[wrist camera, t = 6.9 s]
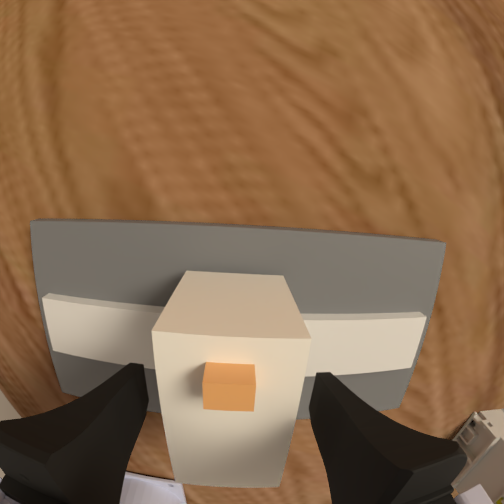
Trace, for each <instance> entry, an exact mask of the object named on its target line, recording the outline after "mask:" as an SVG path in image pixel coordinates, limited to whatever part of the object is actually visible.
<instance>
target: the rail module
mask: <svg viewBox="0 0 504 504" xmlns="http://www.w3.org/2000/svg"><path fill="white" fill-rule="evenodd" d="M311 339H312V338H311V336H310V334H309V332H308V329H307V327H306V325H305V323H304V321H303V318H302V316H301V314H300V312H299V309H298V307H297V305H296V303H295V301H294V298H293V296H292V294H291V292H290V290H289V287H288V285H287V283H286V281H285V279H284V276H283V275H260V274H240V273H221V272H203V271H186V272H185V274H184V276H183V277H182V279H181V281H180V282H179V284H178V286H177V287H176V289H175V291H174V292H173V294H172V296H171V298H170V299H169V301H168V303H167V304H166V306H165V308H164V310H163V311H162V313H161V315H160V317H159V318H158V320H157V322H156V324H155V325H154V327H153V329H152V342H153V352H154V361H155V370H156V378H157V385H158V392H159V399H160V406H161V412H162V418H163V424H164V430H165V435H166V440H167V445H168V450H169V455H170V460H171V465H172V469H173V473H174V478H175V482H176V483H184V484H193V485H204V486H217V487H244V488H260V487H279V485H280V482H281V478H282V474H283V471H284V467H285V463H286V459H287V455H288V451H289V447H290V443H291V439H292V434H293V430H294V426H295V421H296V417H297V412H298V407H299V403H300V398H301V393H302V388H303V383H304V378H305V372H306V367H307V362H308V356H309V350H310V345H311Z"/></svg>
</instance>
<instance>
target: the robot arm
mask: <svg viewBox="0 0 504 504" xmlns="http://www.w3.org/2000/svg"><path fill="white" fill-rule="evenodd" d="M148 403H149V397H148V391H147V384H146V378H145V371H144V364H138V363H131V362H130V363H129V364H127V365H126V366H125V367H123V368H122V369H121V370H119V371H118V372H117V373H115V374H114V375H113V376H111V377H110V378H109V379H107V380H106V381H105V382H103V383H102V384H100V385H99V386H97V387H96V388H94V389H93V390H91V391H90V392H88V393H87V394H85V395H83V396H82V397H80V398H78V399H76V400H74V401H72V402H70V403H68V404H66V405H64V406H61V407H59V408H56V409H53V410H51V411H48V412H45V413H42V414H38V415H35V416H30V417H26V418H21V419H13V420H4V421H1V422H0V468H1V469H2V470H3V471H4V473H5V474H6V475H5V476H4V478H3V479H2V478H1V477H0V504H187V502H186V498H185V494H184V489H183V485H182V483H176V482H175V481H174V480H167V479H161V478H155V477H149V476H144V475H139V474H134V473H130V472H126V468H127V464H128V461H129V458H130V455H131V453H132V450H133V448H134V445H135V442H136V440H137V437H138V435H139V432H140V430H141V427H142V425H143V422H144V419H145V416H146V412H147V407H148ZM309 413H310V419H311V425H312V429H313V432H314V435H315V438H316V441H317V444H318V447H319V450H320V453H321V456H322V459H323V462H324V465H325V469H326V472H327V477H328V482H329V487H330V493H331V500H332V504H493V502H492V501H491V499H490V498H489V496H488V495H487V493H486V492H485V490H484V489H483V487H482V486H481V484H477V485H476V486H474V487H472V488H470V489H468V490H466V491H464V492H462V493H460V494H459V495H457V496H456V497H455V498H454V499H453V497H452V495H451V493H452V492H453V491H454V489H453V487H452V485H451V483H452V482H453V481H454V479H455V478H456V477H457V476H458V475H459V473H460V472H461V471H462V469H463V468H464V466H465V465H466V462H467V459H468V457H467V454H466V453H465V452H464V450H463V449H462V447H461V446H460V445H459V443H458V442H457V441H452V440H447V439H442V438H437V437H434V436H430V435H427V434H424V433H421V432H418V431H415V430H413V429H410V428H408V427H406V426H404V425H401V424H399V423H397V422H395V421H394V420H392V419H390V418H388V417H387V416H385V415H383V414H381V413H380V412H378V411H377V410H375V409H374V408H373V407H371V406H370V405H368V404H367V403H366V402H364V401H363V400H362V399H361V398H359V397H358V396H357V395H356V394H355V393H353V392H352V391H351V390H350V389H349V388H348V387H346V386H345V385H344V384H343V383H342V382H341V381H340V380H339V379H338V378H337V377H335V376H334V375H333V374H332V373H331V372H317V373H316V376H315V381H314V386H313V390H312V395H311V399H310V404H309Z"/></svg>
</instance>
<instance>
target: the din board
mask: <svg viewBox="0 0 504 504" xmlns="http://www.w3.org/2000/svg"><path fill="white" fill-rule="evenodd" d="M30 229H31V244H32V255H33V264H34V273H35V280H36V287H37V293H38V299H39V305H40V310H41V315H42V320H43V325H44V329H45V334H46V338H47V342H48V346H49V350H50V353H51V357H52V361H53V364H54V368H55V371H56V374H57V377H58V380H59V384H60V387H61V390H62V392H64V393H67V394H71V395H74V396H78V397H82V396H83V395H85V394H87V393H88V392H90V391H91V390H93V389H94V388H96V387H97V386H99V385H100V384H102V383H103V382H105V381H106V380H107V379H109V378H110V377H111V376H113V375H114V374H115V373H117V372H118V371H119V370H121V369H122V368H123V367H125V366H126V365H127V364H129V363H130V362H131V363H138V364H144V371H145V378H146V384H147V391H148V397H149V403H148V407H147V411H150V412H157V413H162V412H161V406H160V399H159V392H158V385H157V378H156V370H155V361H154V352H153V342H152V329H153V327H154V325H155V324H156V322H157V320H158V318H159V317H160V315H161V313H162V311H163V310H164V308H165V306H166V304H167V303H168V301H169V299H170V298H171V296H172V294H173V292H174V291H175V289H176V287H177V286H178V284H179V282H180V281H181V279H182V277H183V276H184V274H185V272H186V271H203V272H221V273H240V274H260V275H283V276H284V279H285V281H286V283H287V285H288V287H289V290H290V292H291V294H292V296H293V298H294V301H295V303H296V305H297V307H298V309H299V312H300V314H301V316H302V318H303V321H304V323H305V325H306V327H307V329H308V332H309V334H310V336H311V338H312V339H311V345H310V350H309V356H308V362H307V367H306V372H305V378H304V383H303V388H302V393H301V398H300V403H299V407H298V412H297V417H296V419H310V413H309V404H310V399H311V395H312V390H313V386H314V381H315V376H316V373H317V372H331V373H332V374H333V375H334V376H335V377H337V378H338V379H339V380H340V381H341V382H342V383H343V384H344V385H345V386H346V387H348V388H349V389H350V390H351V391H352V392H353V393H355V394H356V395H357V396H358V397H359V398H361V399H362V400H363V401H364V402H366V403H367V404H368V405H370V406H371V407H373V408H374V409H375V410H377V411H383V410H389V409H394V408H399V406H400V404H401V402H402V399H403V397H404V394H405V392H406V389H407V387H408V384H409V382H410V379H411V376H412V374H413V371H414V368H415V365H416V363H417V360H418V357H419V354H420V351H421V348H422V344H423V341H424V338H425V335H426V331H427V328H428V324H429V321H430V317H431V314H432V310H433V306H434V302H435V298H436V294H437V289H438V285H439V280H440V275H441V270H442V265H443V260H444V254H445V248H446V243H445V242H442V241H439V240H435V239H425V238H415V237H404V236H393V235H381V234H370V233H357V232H345V231H332V230H318V229H303V228H288V227H272V226H255V225H237V224H217V223H195V222H171V221H142V220H104V219H36V220H32V221H30Z"/></svg>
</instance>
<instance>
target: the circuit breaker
mask: <svg viewBox="0 0 504 504" xmlns="http://www.w3.org/2000/svg"><path fill="white" fill-rule="evenodd" d="M472 420H474V422H473V423H471V421H472ZM452 441H457V442H458V443H459V445H460V446H461V447H462V449H463V450H464V452H465V453H466V454H467V457H468V459H467V462H466V465H465V466H464V468H463V469H462V471H461V472H460V473H459V475H458V476H457V477H456V478H455V479H454V481H453V482H452V483H451V485H452V487H453V489H454V488H456V490H457V492H458V493H459V494H460V493H462V492H464V491H466V490H468V489H470V488H472V487H474V486H476V485H477V484H481V486H482V487H483V489H484V490H485V492H486V493H487V495H488V496H489V498H490V499H491V501H492V502H493V504H504V409H497V410H488V411H480V412H479V413H478V414H477V412H473V414H472V415H471V416H470V418H469V419H468V420H467V422H466V423H465V424H464V426H463V427H462V428H461V430H460V431H459V432H458V434H457V435H456V436H455V437H454V439H453V440H452Z"/></svg>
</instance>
